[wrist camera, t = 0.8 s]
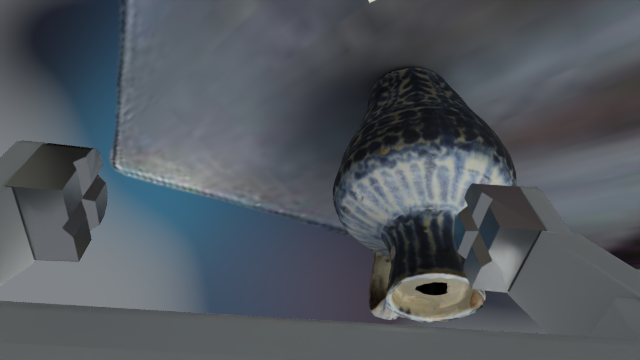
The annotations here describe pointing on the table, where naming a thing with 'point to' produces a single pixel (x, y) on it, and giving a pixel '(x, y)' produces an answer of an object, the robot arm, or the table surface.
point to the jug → (417, 193)
